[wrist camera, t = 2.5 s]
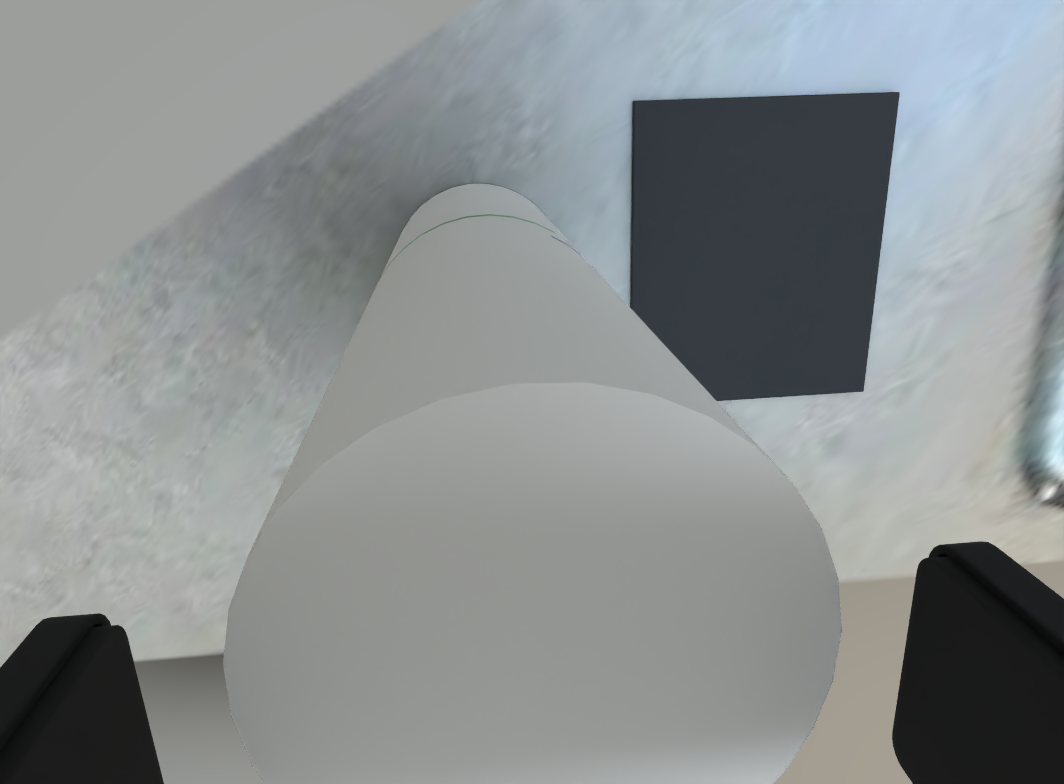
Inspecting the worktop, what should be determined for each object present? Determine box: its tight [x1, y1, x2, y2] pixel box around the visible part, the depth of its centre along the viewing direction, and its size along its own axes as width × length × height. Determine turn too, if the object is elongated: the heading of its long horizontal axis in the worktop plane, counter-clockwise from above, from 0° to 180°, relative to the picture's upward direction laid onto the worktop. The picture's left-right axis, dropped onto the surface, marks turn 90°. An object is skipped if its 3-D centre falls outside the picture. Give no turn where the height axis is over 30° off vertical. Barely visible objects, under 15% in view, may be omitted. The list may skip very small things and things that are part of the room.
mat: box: [631, 92, 899, 401], centre depth 33 cm, size 13×11×1 cm
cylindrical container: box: [223, 184, 842, 784], centre depth 21 cm, size 7×7×25 cm
